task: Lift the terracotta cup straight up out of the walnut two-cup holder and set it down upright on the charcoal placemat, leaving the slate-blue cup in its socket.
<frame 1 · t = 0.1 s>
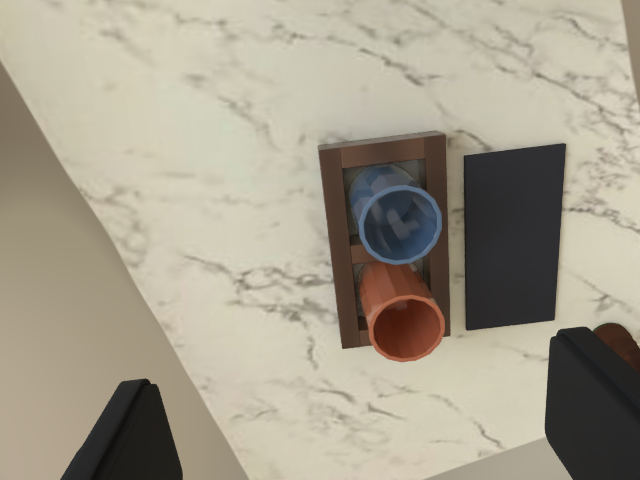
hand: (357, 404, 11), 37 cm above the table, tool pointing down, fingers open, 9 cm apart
holder: (384, 240, 49), on the table
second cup: (381, 195, 47), resting in holder
chess piece: (604, 340, 54), on the table
placemat: (511, 242, 49), on the table
cup: (388, 281, 50), resting in holder
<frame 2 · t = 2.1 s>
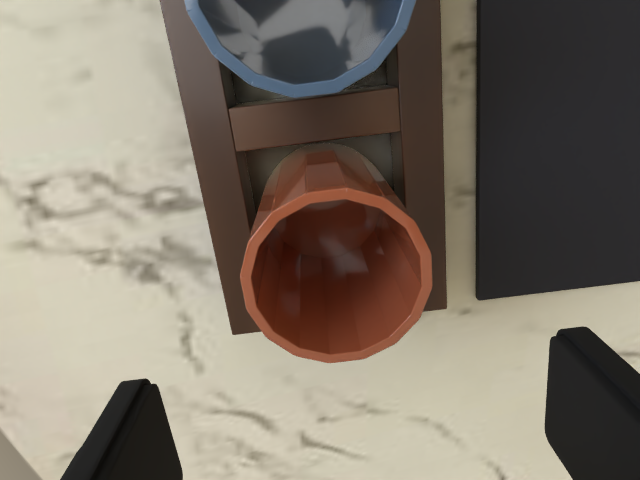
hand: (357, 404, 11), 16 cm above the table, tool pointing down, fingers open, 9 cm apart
holder: (314, 113, 24), on the table
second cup: (301, 10, 22), resting in holder
placemat: (569, 120, 25), on the table
cup: (324, 203, 26), resting in holder
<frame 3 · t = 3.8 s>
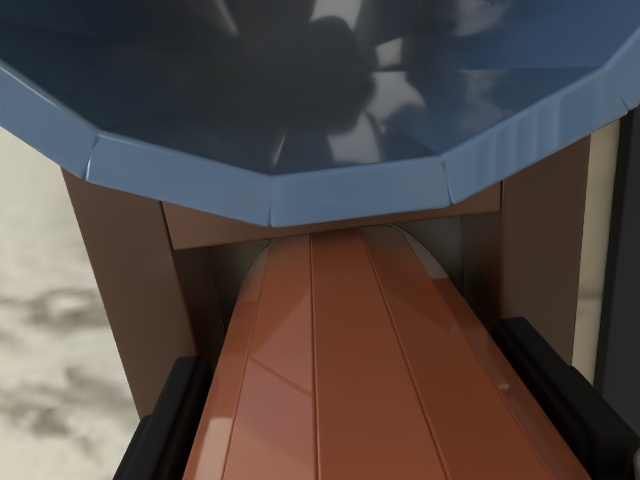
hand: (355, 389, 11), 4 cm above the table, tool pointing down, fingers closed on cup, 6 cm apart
holder: (326, 165, 13), on the table
cup: (343, 314, 15), resting in holder, touching gripper
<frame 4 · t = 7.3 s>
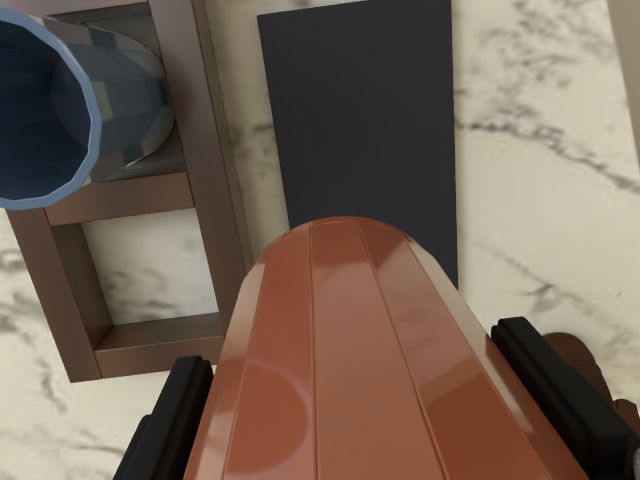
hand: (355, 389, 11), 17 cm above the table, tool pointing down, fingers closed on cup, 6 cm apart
holder: (137, 186, 27), on the table
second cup: (113, 99, 25), resting in holder
chess piece: (549, 361, 32), on the table
placemat: (369, 189, 27), on the table
cup: (343, 315, 15), point 13 cm above the table, touching gripper
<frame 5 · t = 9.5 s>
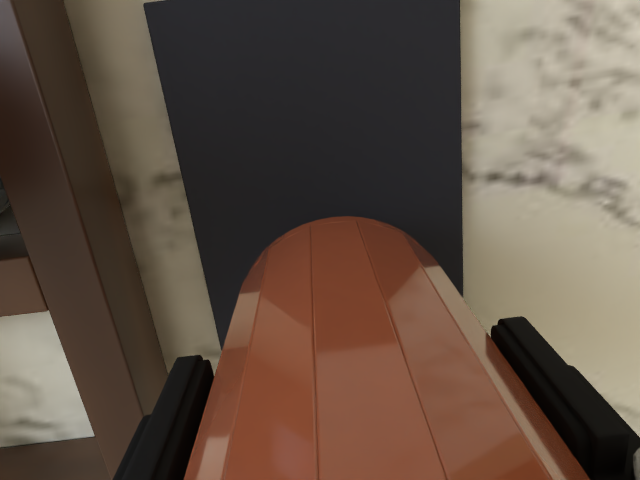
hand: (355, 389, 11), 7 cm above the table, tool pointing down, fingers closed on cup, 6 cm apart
placemat: (333, 267, 18), on the table
cup: (343, 315, 15), point 4 cm above the table, touching gripper
when the fingers open (4 cm above the table, at t = 10.8 s): cup stays where it is, resting on placemat.
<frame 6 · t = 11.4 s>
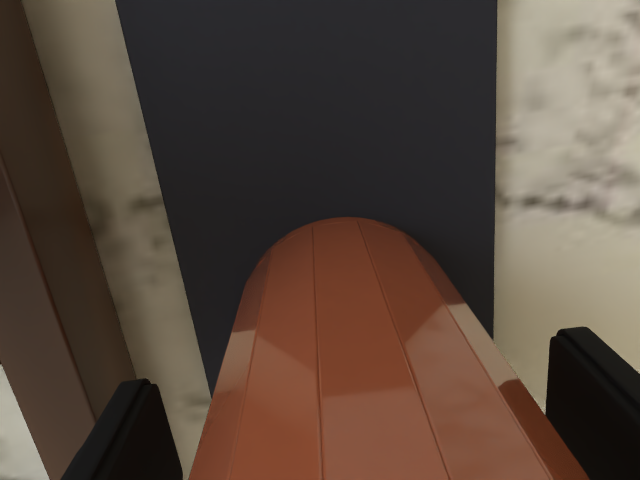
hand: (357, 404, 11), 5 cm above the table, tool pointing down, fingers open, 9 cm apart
placemat: (342, 305, 16), on the table
cup: (344, 314, 15), resting on placemat
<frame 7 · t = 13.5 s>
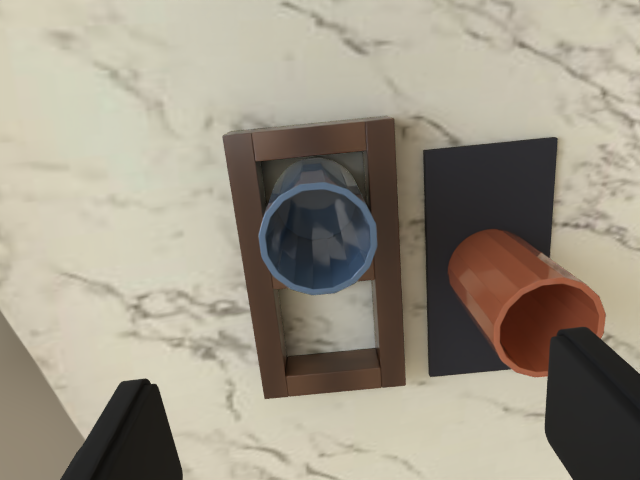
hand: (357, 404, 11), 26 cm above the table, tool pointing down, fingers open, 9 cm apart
holder: (321, 258, 38), on the table
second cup: (316, 200, 36), resting in holder
placemat: (486, 265, 38), on the table
cup: (488, 268, 38), resting on placemat
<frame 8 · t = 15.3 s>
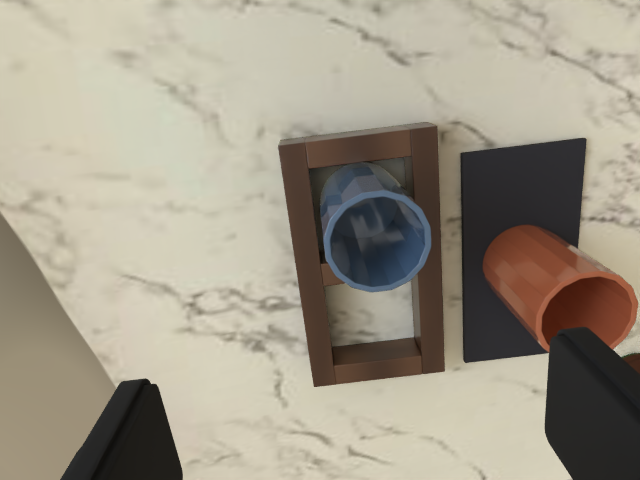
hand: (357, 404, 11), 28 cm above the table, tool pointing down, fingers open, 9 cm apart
holder: (365, 256, 40), on the table
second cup: (360, 202, 38), resting in holder
chess piece: (628, 373, 45), on the table
placemat: (518, 258, 41), on the table
cup: (520, 261, 40), resting on placemat
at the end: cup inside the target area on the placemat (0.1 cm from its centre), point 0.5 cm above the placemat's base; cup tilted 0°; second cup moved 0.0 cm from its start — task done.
